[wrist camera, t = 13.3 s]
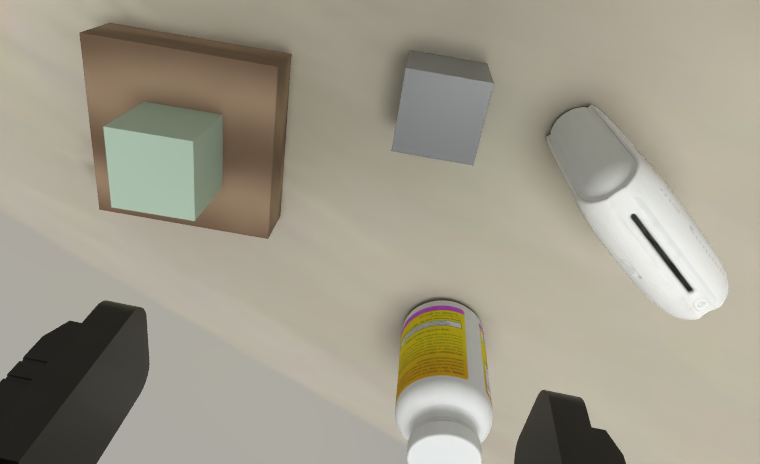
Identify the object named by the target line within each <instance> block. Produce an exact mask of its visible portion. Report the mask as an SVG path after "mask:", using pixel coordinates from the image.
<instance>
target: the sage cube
mask: <svg viewBox="0 0 760 464" xmlns="http://www.w3.org/2000/svg"><path fill="white" fill-rule="evenodd" d="M103 129H104V139H105V148H106V158H107V168H108V178H109V188H110V198H111V207H113V208H119V209H125V210H131V211H137V212H143V213H149V214H155V215H161V216H167V217H173V218H179V219H185V220H191V221H195V220H196V219H197V218H198V217H199V215H200V214H201V213H202V212H203V210H204V209H205V208H206V207H207V205H208V204H209V203H210V202H211V200H212V199H213V198H214V197H215V195H216V194H217V193H218V192H219V190H220V189H221V188H222V182H223V115H222V114H216V113H210V112H204V111H198V110H192V109H186V108H180V107H173V106H167V105H161V104H155V103H149V102H143V103H141V104H140V105H138V106H136V107H135V108H133V109H131V110H130V111H128V112H126V113H125V114H123V115H121V116H120V117H118V118H117V119H115V120H113V121H112V122H110V123H108V124H107V125H105V126H103Z"/></svg>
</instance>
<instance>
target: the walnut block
mask: <svg viewBox="0 0 760 464" xmlns="http://www.w3.org/2000/svg"><path fill="white" fill-rule="evenodd" d="M80 41H81V50H82V59H83V67H84V76H85V85H86V94H87V103H88V112H89V120H90V129H91V138H92V147H93V156H94V165H95V174H96V182H97V191H98V200H99V209H100V210H105V211H111V212H117V213H123V214H128V215H134V216H140V217H146V218H151V219H157V220H163V221H169V222H174V223H180V224H186V225H192V226H197V227H203V228H209V229H215V230H220V231H226V232H232V233H238V234H243V235H249V236H255V237H261V238H266V239H268V238H269V236H270V234H271V232H272V230H273V228H274V227H275V225H276V223H277V221H278V219H279V217H280V212H281V197H282V183H283V168H284V154H285V139H286V124H287V110H288V95H289V81H290V66H291V54H286V53H280V52H274V51H268V50H262V49H257V48H251V47H245V46H239V45H234V44H228V43H222V42H216V41H211V40H205V39H199V38H193V37H188V36H182V35H176V34H170V33H165V32H159V31H153V30H147V29H142V28H136V27H130V26H124V25H118V24H113V23H109V24H105V25H102V26H99V27H96V28H93V29H90V30H87V31H83V32H80ZM143 102H149V103H155V104H161V105H167V106H173V107H180V108H186V109H192V110H198V111H204V112H210V113H216V114H222V115H223V182H222V188H221V189H220V190H219V192H218V193H217V194H216V195H215V197H214V198H213V199H212V200H211V202H210V203H209V204H208V205H207V207H206V208H205V209H204V210H203V212H202V213H201V214H200V215H199V217H198V218H197V219H196V220H195V221H191V220H185V219H179V218H173V217H167V216H161V215H155V214H149V213H143V212H137V211H131V210H125V209H119V208H113V207H111V198H110V188H109V178H108V168H107V158H106V148H105V139H104V129H103V126H105V125H107V124H108V123H110V122H112V121H113V120H115V119H117V118H118V117H120V116H121V115H123V114H125V113H126V112H128V111H130V110H131V109H133V108H135V107H136V106H138V105H140V104H141V103H143Z"/></svg>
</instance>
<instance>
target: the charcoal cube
mask: <svg viewBox="0 0 760 464" xmlns="http://www.w3.org/2000/svg"><path fill="white" fill-rule="evenodd" d="M493 85H494V82H493V79H492V76H491V73H490V70H489V67H488V65H487V64H486V63H480V62H474V61H468V60H463V59H457V58H451V57H445V56H440V55H434V54H428V53H422V52H417V51H411V50H410V51H409V55H408V60H407V64H406V69H405V75H404V80H403V86H402V92H401V98H400V104H399V110H398V116H397V122H396V127H395V133H394V139H393V145H392V151H394V152H400V153H406V154H411V155H417V156H423V157H428V158H434V159H440V160H446V161H451V162H457V163H463V164H468V165H474V161H475V157H476V153H477V149H478V145H479V141H480V137H481V133H482V129H483V125H484V121H485V117H486V113H487V109H488V105H489V101H490V97H491V93H492V89H493Z"/></svg>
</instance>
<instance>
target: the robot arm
mask: <svg viewBox="0 0 760 464" xmlns="http://www.w3.org/2000/svg"><path fill="white" fill-rule="evenodd" d="M148 371H149V349H148V334H147V319H146V312H145V310H144V309H143V308H141V307H136V306H131V305H126V304H121V303H115V302H111V301H103V302H101V303H99V304H98V305H97V306H96V307H95V309H94V310H93V311H92V312H91V313H90V315H88V317H87V318H86V319H85V320H84V321H83V323H78V322H73V321H68V322H67V323H65V324H63V325H61V326H60V327H58V328H56V329H55V330H53V331H51V332H50V333H48V334H46V335H44V336H43V337H42V338H41V339H40V340H39V341H38V342H37V343H36V344H35V345H34V346H33V347H32V348H31V350H30V351H29V352H28V353H27V354H26V355H25V356H24V358H23V361H22V362H21V361H19V363H17V365H16V366H15V367H14V368H13V369H12V370H11V371H10V372H9V373H8V374H7V378H6V379H3V380H2V381H1V382H0V464H97V462H98V460H99V459H100V457H101V456H102V454H103V452H104V451H105V449H106V448H107V446H108V444H109V443H110V441H111V440H112V438H113V436H114V435H115V433H116V432H117V430H118V428H119V427H120V425H121V424H122V422H123V420H124V419H125V417H126V416H127V414H128V413H129V411H130V409H131V408H132V406H133V405H134V403H135V401H136V400H137V398H138V397H139V395H140V393H141V391H142V389H143V387H144V385H145V382H146V379H147V376H148ZM514 464H626V462H625V459H624V456H623V454H622V453H621V451H620V450H619V448H618V447H617V446H616V444H615V443H614V441H613V440H612V439H611V437H610V436H609V434H608V433H607V432H606V430H602V429H597V428H592V427H591V424H590V420H589V417H588V413H587V409H586V406H585V403H584V401H583V399H582V398H580V397H576V396H571V395H566V394H561V393H556V392H551V391H546V390H542V391H541V392H540V393H539V395H538V396H537V399H536V401H535V403H534V405H533V407H532V410H531V412H530V414H529V416H528V419H527V421H526V423H525V425H524V427H523V430H522V432H521V434H520V436H519V439H518V442H517V446H516V451H515V460H514Z"/></svg>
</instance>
